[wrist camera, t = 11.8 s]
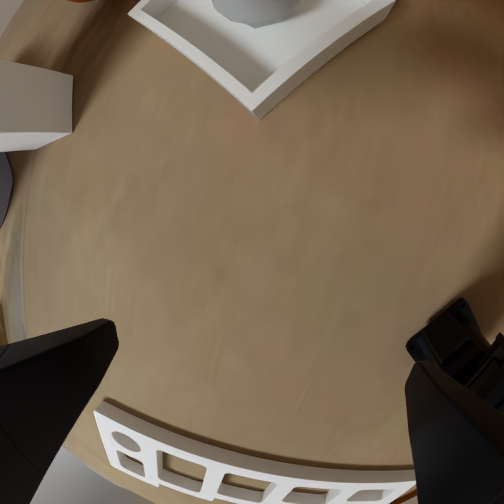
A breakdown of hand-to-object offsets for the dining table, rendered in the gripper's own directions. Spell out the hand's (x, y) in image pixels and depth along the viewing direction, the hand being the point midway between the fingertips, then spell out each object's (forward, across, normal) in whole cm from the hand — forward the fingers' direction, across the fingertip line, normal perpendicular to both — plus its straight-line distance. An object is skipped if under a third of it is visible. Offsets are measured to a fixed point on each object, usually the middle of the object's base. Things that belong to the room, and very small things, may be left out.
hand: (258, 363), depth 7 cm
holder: (+14, 0, +36) cm, 38 cm away
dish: (+13, +3, -17) cm, 22 cm away
